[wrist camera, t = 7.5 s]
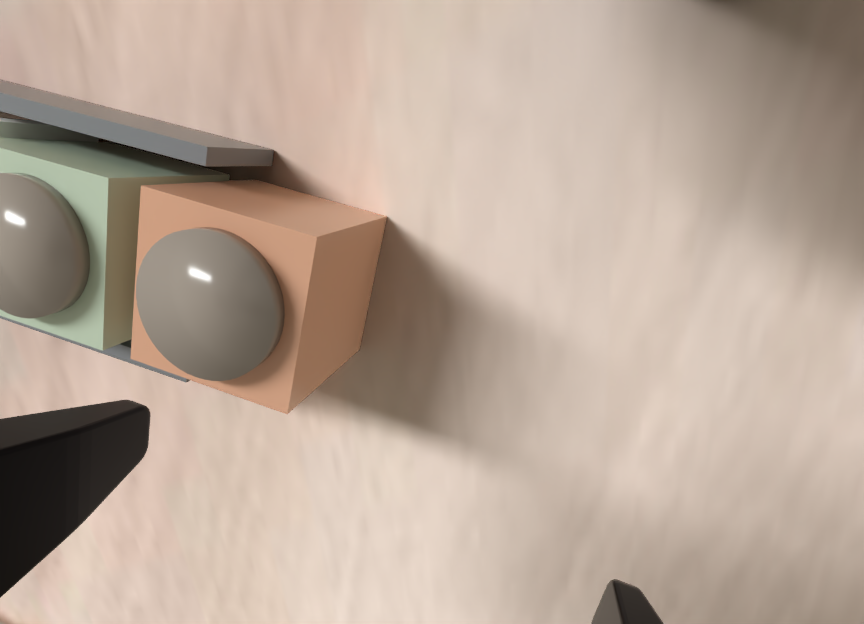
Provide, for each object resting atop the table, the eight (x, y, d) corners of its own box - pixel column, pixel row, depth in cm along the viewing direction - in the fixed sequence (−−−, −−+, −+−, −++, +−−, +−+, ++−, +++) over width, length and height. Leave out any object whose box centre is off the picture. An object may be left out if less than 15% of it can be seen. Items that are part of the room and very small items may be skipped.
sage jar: (230, 174, 21) (91, 178, 15) (217, 304, 23) (87, 356, 17) (111, 142, 22) (-67, 134, 16) (107, 270, 24) (-56, 307, 18)
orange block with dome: (255, 179, 21) (124, 186, 15) (387, 216, 20) (306, 240, 14) (239, 310, 23) (115, 365, 16) (359, 349, 22) (277, 423, 16)
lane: (274, 149, 20) (207, 147, 17) (248, 346, 23) (186, 382, 19) (-73, 60, 23) (-198, 40, 19) (-61, 245, 26) (-169, 259, 22)
